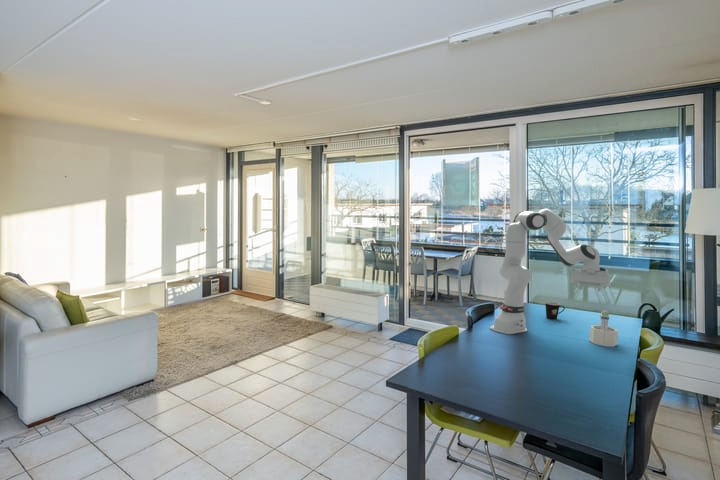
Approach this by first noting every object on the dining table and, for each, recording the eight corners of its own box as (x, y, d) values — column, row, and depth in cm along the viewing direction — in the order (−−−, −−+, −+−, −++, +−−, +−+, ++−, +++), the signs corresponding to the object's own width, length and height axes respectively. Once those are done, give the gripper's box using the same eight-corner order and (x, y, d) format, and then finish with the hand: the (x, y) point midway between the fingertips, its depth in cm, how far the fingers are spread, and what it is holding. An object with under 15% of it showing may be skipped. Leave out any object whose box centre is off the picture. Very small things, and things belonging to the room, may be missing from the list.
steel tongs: (597, 341, 214) (599, 312, 213) (596, 338, 219) (598, 310, 218) (609, 342, 212) (611, 313, 210) (608, 339, 217) (610, 311, 215)
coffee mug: (544, 318, 261) (544, 304, 260) (544, 315, 268) (545, 301, 267) (563, 321, 255) (564, 306, 254) (564, 318, 263) (564, 303, 262)
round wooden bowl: (610, 348, 206) (611, 333, 206) (586, 341, 216) (587, 327, 215) (620, 343, 214) (621, 329, 213) (596, 337, 223) (597, 323, 223)
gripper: (571, 266, 240) (569, 284, 232) (610, 269, 230) (610, 288, 222) (570, 272, 244) (569, 290, 237) (609, 276, 234) (609, 295, 227)
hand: (589, 289), depth 229 cm, fingers open, 8 cm apart
